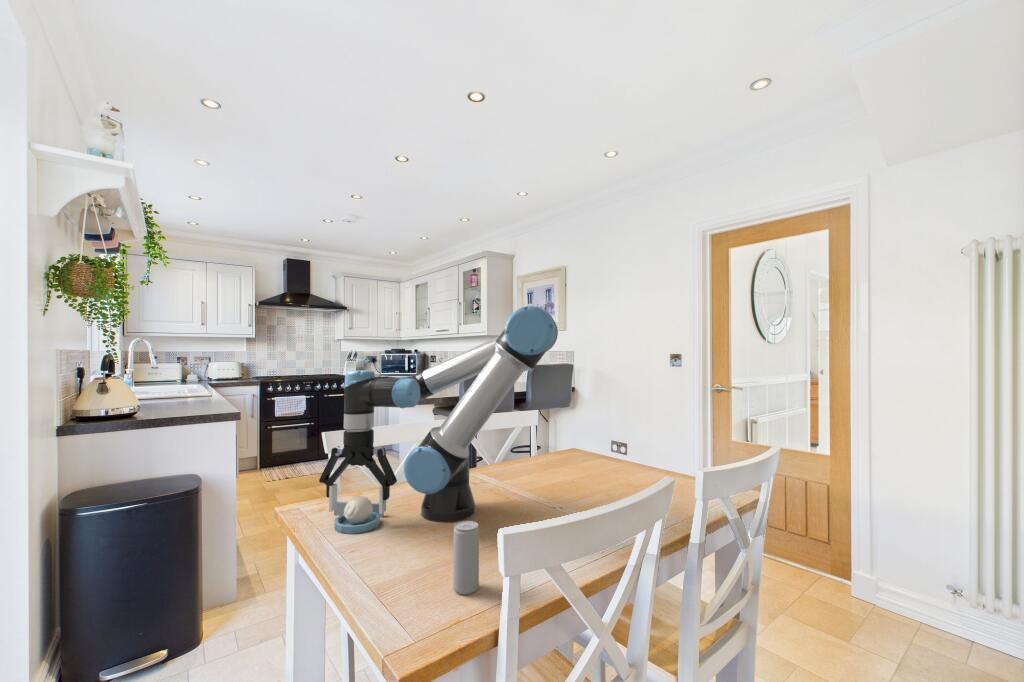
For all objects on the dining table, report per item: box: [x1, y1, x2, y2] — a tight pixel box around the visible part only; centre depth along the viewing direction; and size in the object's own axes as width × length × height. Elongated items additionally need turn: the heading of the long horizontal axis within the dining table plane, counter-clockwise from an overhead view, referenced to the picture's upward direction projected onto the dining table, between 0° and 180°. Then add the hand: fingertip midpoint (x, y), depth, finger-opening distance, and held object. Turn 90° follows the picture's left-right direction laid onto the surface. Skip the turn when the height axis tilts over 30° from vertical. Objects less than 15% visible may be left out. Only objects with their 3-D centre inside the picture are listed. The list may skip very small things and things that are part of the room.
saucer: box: [334, 512, 381, 535], centre depth 115 cm, size 11×11×2 cm
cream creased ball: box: [344, 495, 373, 524], centre depth 115 cm, size 7×7×7 cm
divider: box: [333, 500, 385, 518], centre depth 123 cm, size 14×1×4 cm, turn 83°
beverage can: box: [452, 520, 480, 596], centre depth 84 cm, size 5×5×12 cm
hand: (357, 511), depth 115 cm, fingers open, 13 cm apart
